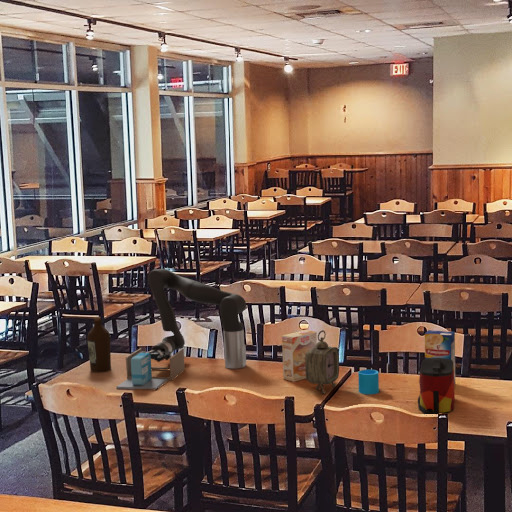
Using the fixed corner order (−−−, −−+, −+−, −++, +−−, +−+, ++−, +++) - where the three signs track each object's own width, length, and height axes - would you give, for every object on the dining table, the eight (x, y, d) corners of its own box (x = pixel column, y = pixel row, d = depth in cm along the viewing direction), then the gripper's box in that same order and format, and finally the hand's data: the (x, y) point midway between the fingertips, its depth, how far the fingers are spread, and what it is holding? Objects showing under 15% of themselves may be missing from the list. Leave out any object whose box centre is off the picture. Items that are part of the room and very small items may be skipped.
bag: (454, 417, 317) (453, 373, 315) (415, 416, 320) (414, 373, 318) (455, 394, 346) (454, 354, 344) (419, 393, 349) (419, 353, 347)
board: (167, 381, 382) (167, 379, 382) (156, 390, 369) (155, 387, 369) (129, 380, 387) (129, 377, 387) (116, 388, 373) (116, 386, 373)
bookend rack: (184, 370, 400) (183, 349, 399) (171, 380, 383) (170, 358, 382) (141, 369, 405) (140, 348, 404) (127, 379, 389) (125, 357, 387)
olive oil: (106, 365, 415) (102, 314, 412) (116, 369, 406) (112, 317, 403) (85, 369, 409) (82, 317, 406) (95, 373, 400) (91, 320, 397)
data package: (141, 386, 372) (140, 358, 371) (132, 385, 373) (130, 358, 372) (152, 378, 384) (150, 352, 382) (142, 378, 385) (141, 351, 383)
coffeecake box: (294, 382, 373) (292, 337, 371) (282, 379, 378) (281, 335, 376) (318, 375, 383) (317, 331, 380) (307, 372, 388) (305, 329, 386)
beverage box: (451, 388, 354) (451, 335, 352) (425, 385, 359) (424, 333, 356) (455, 383, 360) (455, 331, 358) (429, 381, 365) (428, 330, 362)
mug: (377, 394, 349) (377, 374, 348) (357, 394, 351) (357, 374, 350) (380, 386, 361) (380, 367, 360) (361, 386, 363) (360, 366, 362)
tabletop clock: (325, 395, 351) (323, 335, 347) (304, 393, 355) (302, 333, 352) (339, 386, 363) (338, 327, 360) (320, 384, 368) (318, 326, 364)
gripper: (146, 342, 402) (133, 350, 386) (175, 343, 398) (163, 351, 383) (147, 358, 403) (134, 367, 387) (176, 359, 399) (164, 368, 384)
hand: (148, 359), depth 385 cm, fingers open, 8 cm apart
